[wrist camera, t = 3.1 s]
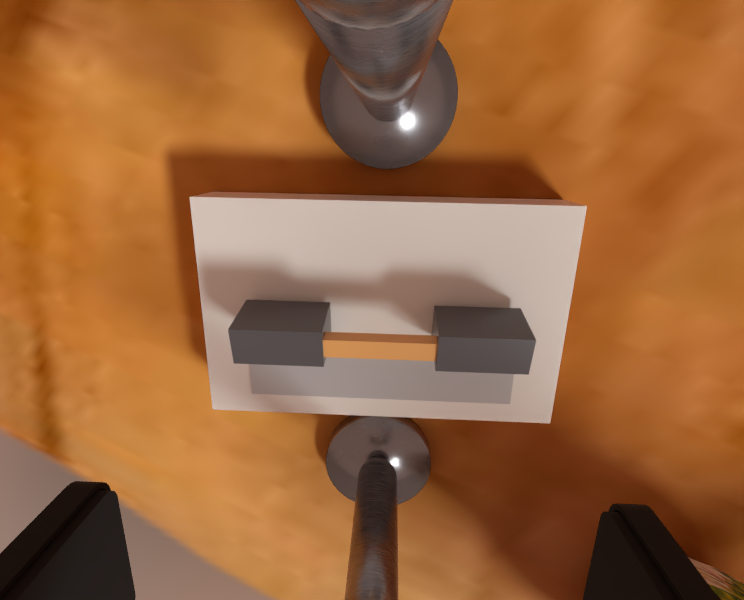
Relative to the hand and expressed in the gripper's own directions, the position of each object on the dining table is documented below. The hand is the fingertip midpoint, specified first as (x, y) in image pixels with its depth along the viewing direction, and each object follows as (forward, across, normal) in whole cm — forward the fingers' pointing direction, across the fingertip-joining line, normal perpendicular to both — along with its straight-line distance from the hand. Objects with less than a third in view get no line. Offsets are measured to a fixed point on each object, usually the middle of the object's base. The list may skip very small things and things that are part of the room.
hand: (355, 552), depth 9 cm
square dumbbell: (+11, 0, -1) cm, 11 cm away
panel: (+14, 0, -1) cm, 14 cm away
